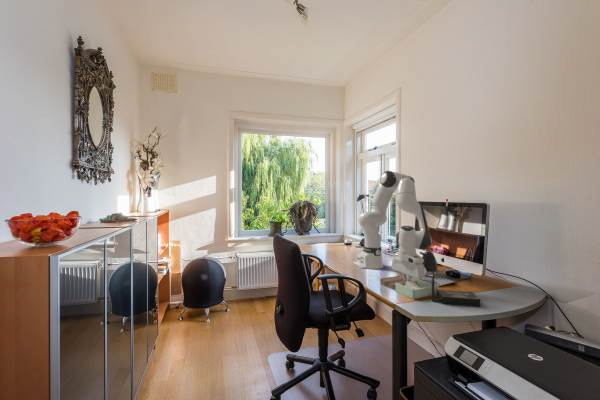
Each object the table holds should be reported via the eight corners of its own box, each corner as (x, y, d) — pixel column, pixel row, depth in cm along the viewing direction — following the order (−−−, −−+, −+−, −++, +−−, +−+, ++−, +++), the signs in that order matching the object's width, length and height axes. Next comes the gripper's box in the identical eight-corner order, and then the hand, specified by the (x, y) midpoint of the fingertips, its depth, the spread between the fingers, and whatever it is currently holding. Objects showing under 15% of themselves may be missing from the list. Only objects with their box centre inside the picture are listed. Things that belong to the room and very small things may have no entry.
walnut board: (380, 283, 164) (380, 278, 164) (399, 280, 170) (399, 275, 170) (396, 291, 152) (396, 285, 152) (416, 287, 158) (416, 282, 158)
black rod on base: (470, 298, 143) (471, 264, 143) (481, 309, 130) (482, 271, 129) (427, 295, 148) (427, 261, 147) (433, 305, 134) (434, 269, 134)
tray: (395, 291, 152) (395, 282, 152) (417, 287, 158) (418, 279, 158) (413, 299, 140) (413, 290, 140) (437, 294, 147) (437, 285, 147)
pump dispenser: (418, 272, 188) (419, 249, 187) (436, 273, 184) (436, 250, 184) (419, 276, 178) (420, 252, 178) (438, 278, 175) (438, 253, 174)
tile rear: (404, 285, 153) (406, 281, 152) (411, 284, 155) (413, 280, 154) (410, 292, 149) (412, 288, 148) (418, 290, 151) (419, 287, 150)
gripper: (389, 253, 163) (388, 277, 163) (417, 261, 144) (417, 288, 144) (397, 252, 165) (397, 276, 166) (426, 260, 147) (426, 287, 147)
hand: (406, 282), depth 155 cm, fingers closed
